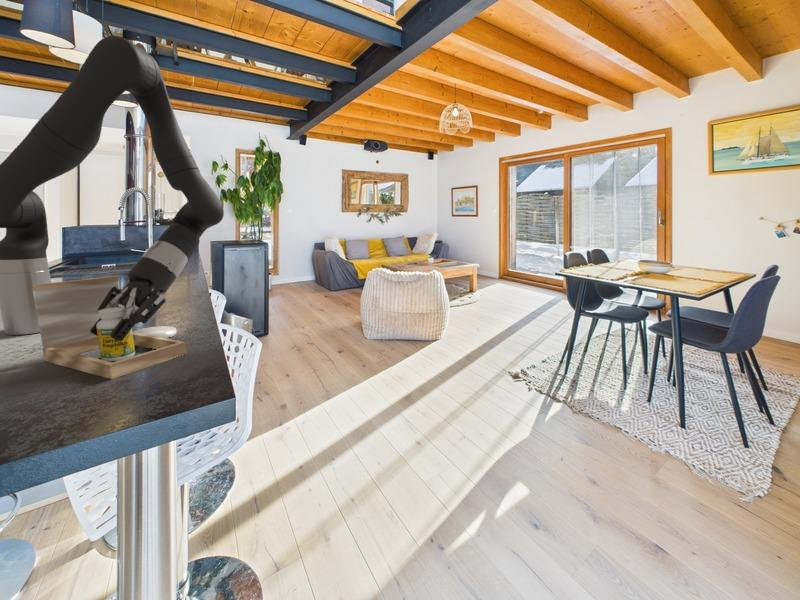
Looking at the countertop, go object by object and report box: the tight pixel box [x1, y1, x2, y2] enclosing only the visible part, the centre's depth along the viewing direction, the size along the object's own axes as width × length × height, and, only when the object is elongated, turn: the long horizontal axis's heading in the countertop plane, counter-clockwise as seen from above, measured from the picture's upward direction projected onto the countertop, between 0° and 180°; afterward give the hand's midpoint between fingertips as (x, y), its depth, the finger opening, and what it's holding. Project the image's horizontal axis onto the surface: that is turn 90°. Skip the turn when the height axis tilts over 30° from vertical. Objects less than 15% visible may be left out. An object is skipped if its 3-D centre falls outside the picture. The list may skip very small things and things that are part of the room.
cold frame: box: [31, 275, 188, 380], centre depth 71 cm, size 20×14×14 cm
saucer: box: [132, 325, 178, 338], centre depth 86 cm, size 9×9×1 cm
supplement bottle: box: [96, 307, 136, 362], centre depth 72 cm, size 5×5×10 cm
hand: (105, 336), depth 70 cm, fingers closed on supplement bottle, 5 cm apart
